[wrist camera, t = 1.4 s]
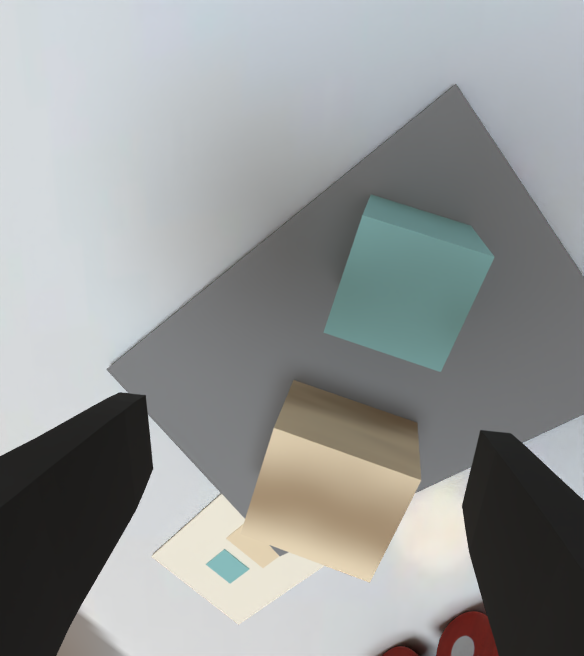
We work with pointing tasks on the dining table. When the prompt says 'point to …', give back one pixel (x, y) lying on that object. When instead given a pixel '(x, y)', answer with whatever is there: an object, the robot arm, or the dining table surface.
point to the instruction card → (231, 562)
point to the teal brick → (408, 283)
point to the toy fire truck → (461, 638)
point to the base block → (334, 481)
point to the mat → (362, 362)
